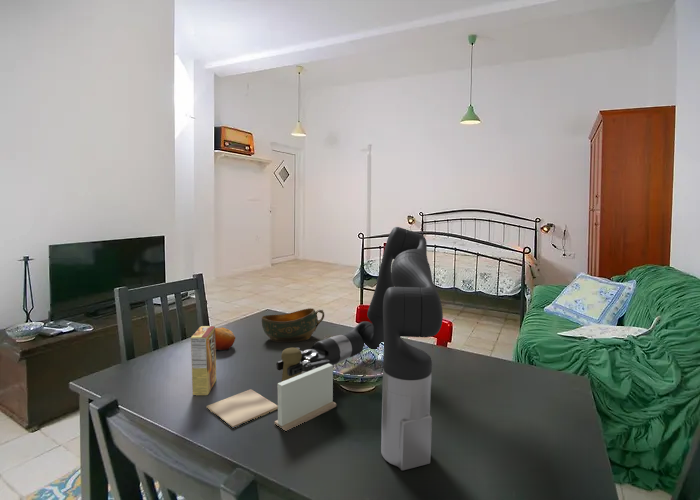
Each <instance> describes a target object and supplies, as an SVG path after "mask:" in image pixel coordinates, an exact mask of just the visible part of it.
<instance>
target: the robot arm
mask: <svg viewBox="0 0 700 500" xmlns="http://www.w3.org/2000/svg"><path fill="white" fill-rule="evenodd" d="M427 243H428V242H427V239H426V237H425V236H424V235H422V234H421V233H419V232H416V231H413V230H412V231H411V230H409V229H406V228H403V227H400V226H395V227H393V228H392V229H391V231H390V232H389V234H388V236H387V240H386V243H385V247H384V251H383V255H382V259H381V262H380V266H379V270H378V276H377V280H376V285H375V289H374V291H373V295H372V298H371V301H370V303H369V304H370V305H369V307H368V309H367V318H368V320H369V321H366V320H365V321H361V322H359V323H358V324H357V325H356V326H355V327H352V329H351V330H349V331H347V332H345V333H341V334H339V335H334V336H330V337H328V338H324V339H321V340H318V341H316V342H314V343H313V344H312V347H311V348H308V349H304V350H300V349H301V348H300V347H296V348H298V349H299V350H300V351H301V353H302V358H301V360H300V363H298V364H296V365H292V366H290V367H288V368H287V374H288V375H289V376H292V375H295V374H297V373H300V372H301V374H303V373H305V372H308V371H310V370H313V369H316V368H318V367H321V366H323V365H326V364H328V363H329V364H331V365H333V366H335V365H338V364H339V363H340V364H341V363H342V362H344V361H346V360H347V359H350V358H352V357H354V356H356V355H359V354H361V352H363V350H364V348H365V346H364V343H365V344H366V345H367V346H368V347H369V348H371V349H377V347H379V344H380V343H381V342H384V349H383V361H382V387H381V389H382V392H381V393H382V395H381V397H382V399H381V440H380V441H381V443H380V444H381V445H380V453H381V456H382V457H383V459H384V460H385V461H386V462H388V463H389V464H391V465H393V466H395V467H398V468H399V469H400V471H406V470H407V471H408V470H410V469H414V468H417V467H421V466H426V465H429V464H431V455H432V454H431V452H432V427H433V426H432V425H433V418H432V416H431V395H432V394H431V393H432V391H431V390H432V372H433V371H432V369H433V368H432V367H433V362H432V361H433V360H432V357H431V356H430V354H429V353H427V352H426V351H424V350H422V349H420V348H418V347H415V346H413V345H411V344H409V343H407V342H406V341H405V340H404V339H402V337H405V338H431V337H434V336H437V335H438V333H439V332H440V331H441V329H442V325H443V319H444V317H443V316H444V315H443V314H444V312H443V306H442V302H441V297H440V294H439V292H438V290H437V288H436V286H435V284H434V282H433V277H432V270H431V267H430V263H429V259H428V253H427V249H428V247H427V246H428V245H427ZM283 364H284V362H283V361H282V359H281V360H278V361H277V362H276V370H277V371H278V372H279V371H283Z"/></svg>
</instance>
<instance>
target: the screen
mask: <svg viewBox="0 0 700 500" xmlns="http://www.w3.org/2000/svg"><path fill="white" fill-rule="evenodd" d="M333 375H334V365H331V364H329V363H328V364H326V365H323V366H321V367H318V368H314V369H312V370H310V371H308V372H305V373H301V374H300V375H298V376H295V377H293V378H290V379H288V380H285V381H282V380H281V381H282V382H281V381H280V382H278V383H277V387H276V388H277V390H276V391H277V406H278V409H277V420H274V425H275V424H276V425H277V426H279V427H280V428H282V429H283V430H285V431H287V430H289V429H291V428H293V427H295V428H297V427H298V425H299V426H301V425H303V424H305V423H306V422H308V421H311V420H313V419H315V418H317V417H318V416H320V415H322V414H324V413H327V412H329V411H331V410H332V409H334V408H336V407H337V403H336V402H335V401H333V400H334V397H333V396H334V393H333V391H334V389H333V388H334V385H333V383H334V382H333V381H334V376H333ZM304 422H305V423H304ZM302 423H303V424H302ZM300 424H301V425H300ZM276 425H275V426H276ZM277 426H276V427H277ZM296 426H297V427H296ZM279 427H278V428H279ZM280 428H279V429H280ZM282 429H281V430H282ZM293 429H294V428H293ZM283 430H282V431H283ZM291 430H292V429H291ZM285 431H284V432H285ZM289 431H290V430H289ZM287 432H288V431H287Z"/></svg>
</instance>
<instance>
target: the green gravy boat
mask: <svg viewBox="0 0 700 500" xmlns="http://www.w3.org/2000/svg"><path fill="white" fill-rule="evenodd" d="M318 313H320V314H321V315H322V316H321V318H320V319H319V320H318ZM324 319H325V312H324V310H323V309H314V308H311V307H310V308H309V307H308V308H305V309H300V310H297V311H291V312H288V313H282V314H281V313H279V314H268V315H262V316H261V326H262V330H263V331H264V333H265V335H266V336H267V337H268V338H269V340H270V341H272V342H276V343H299V342H304V341H308V340H310V339H311V338H312V337H311V336H313V334H314V332H316V330H317V329H318V326H319V325H320V323H322V321H323V320H324Z"/></svg>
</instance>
